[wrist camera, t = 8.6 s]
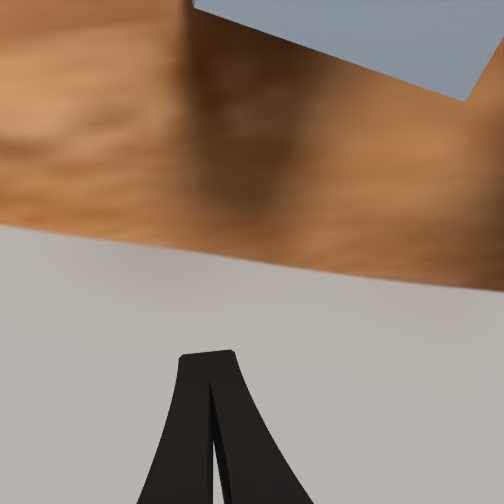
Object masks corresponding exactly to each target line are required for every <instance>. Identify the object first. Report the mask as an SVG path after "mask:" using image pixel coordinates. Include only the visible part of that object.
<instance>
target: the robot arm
mask: <svg viewBox="0 0 504 504" xmlns="http://www.w3.org/2000/svg"><path fill="white" fill-rule="evenodd" d="M213 440H214V446H215V452H216V458H217V464H218V469H219V476H220V481H221V487H222V493H223V499H224V504H314V503H313V502H312V501H311V499H310V498H309V496H308V494H307V493H306V491H305V490H304V488H303V487H302V485H301V484H300V482H299V481H298V479H297V478H296V476H295V475H294V473H293V472H292V470H291V468H290V467H289V465H288V463H287V462H286V460H285V459H284V457H283V455H282V453H281V452H280V450H279V449H278V447H277V445H276V443H275V441H274V440H273V438H272V436H271V434H270V433H269V431H268V429H267V427H266V425H265V423H264V421H263V419H262V417H261V415H260V414H259V411H258V409H257V408H256V405H255V403H254V401H253V399H252V397H251V395H250V393H249V391H248V388H247V386H246V383H245V381H244V378H243V376H242V373H241V371H240V368H239V365H238V362H237V359H236V355H235V352H234V351H232V350H221V351H212V352H203V353H194V354H184V355H182V356H181V357H180V358H179V363H178V372H177V379H176V384H175V389H174V393H173V397H172V402H171V405H170V409H169V412H168V416H167V420H166V423H165V426H164V429H163V433H162V436H161V439H160V442H159V445H158V448H157V451H156V454H155V457H154V459H153V462H152V465H151V468H150V471H149V473H148V476H147V479H146V481H145V484H144V487H143V489H142V492H141V494H140V497H139V499H138V502H137V504H213Z"/></svg>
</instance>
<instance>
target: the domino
mask: <svg viewBox="0 0 504 504" xmlns="http://www.w3.org/2000/svg"><path fill="white" fill-rule="evenodd" d="M192 3H193V6H194V8H196V9H199V10H202V11H205V12H208V13H211V14H214V15H216V16H219V17H222V18H225V19H228V20H231V21H234V22H236V23H239V24H242V25H245V26H248V27H251V28H254V29H257V30H259V31H262V32H265V33H268V34H271V35H274V36H277V37H279V38H282V39H285V40H288V41H291V42H294V43H297V44H299V45H302V46H305V47H308V48H311V49H314V50H317V51H319V52H322V53H325V54H328V55H331V56H334V57H337V58H339V59H342V60H345V61H348V62H351V63H354V64H357V65H360V66H362V67H365V68H368V69H371V70H374V71H377V72H380V73H382V74H385V75H388V76H391V77H394V78H397V79H400V80H402V81H405V82H408V83H411V84H414V85H417V86H420V87H422V88H425V89H428V90H431V91H434V92H437V93H440V94H442V95H445V96H448V97H451V98H454V99H457V100H460V101H463V102H465V101H466V99H467V97H468V96H469V94H470V92H471V91H472V89H473V87H474V86H475V84H476V82H477V80H478V79H479V77H480V75H481V74H482V72H483V70H484V69H485V67H486V65H487V64H488V62H489V60H490V59H491V57H492V55H493V53H494V52H495V50H496V48H497V47H498V45H499V43H500V42H501V40H502V38H503V37H504V0H192Z"/></svg>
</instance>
